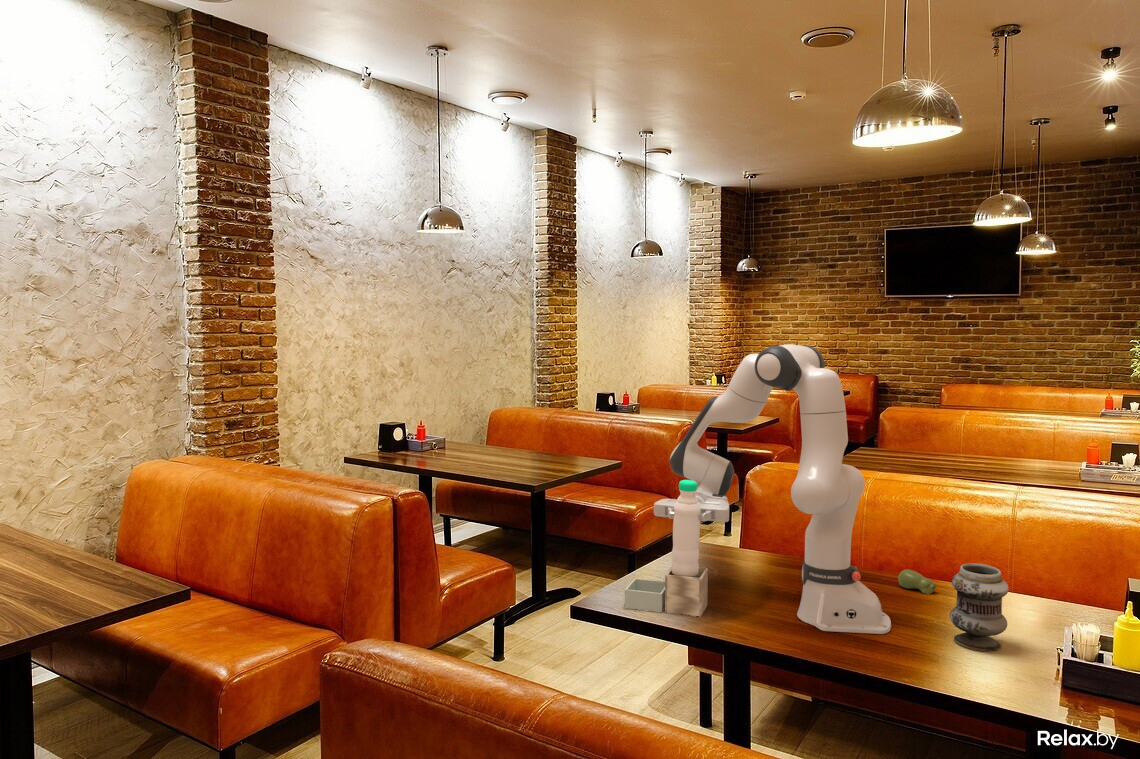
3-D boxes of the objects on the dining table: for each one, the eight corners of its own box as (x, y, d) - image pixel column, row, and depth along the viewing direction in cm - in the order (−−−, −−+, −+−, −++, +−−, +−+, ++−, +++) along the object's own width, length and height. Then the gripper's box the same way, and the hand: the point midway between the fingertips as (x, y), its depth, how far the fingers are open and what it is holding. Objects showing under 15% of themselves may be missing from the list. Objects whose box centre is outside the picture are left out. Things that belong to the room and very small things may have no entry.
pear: (904, 565, 229) (940, 578, 222) (901, 582, 230) (936, 595, 223) (897, 569, 225) (933, 582, 218) (893, 586, 225) (929, 600, 219)
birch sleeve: (707, 604, 212) (707, 568, 212) (700, 617, 203) (701, 578, 203) (672, 600, 215) (672, 564, 215) (665, 612, 207) (665, 575, 206)
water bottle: (697, 570, 212) (700, 478, 210) (699, 579, 205) (702, 484, 203) (670, 569, 213) (674, 477, 211) (671, 578, 206) (675, 483, 204)
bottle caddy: (670, 600, 216) (670, 582, 216) (661, 612, 207) (661, 593, 206) (634, 596, 219) (634, 578, 219) (624, 608, 210) (624, 589, 210)
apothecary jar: (976, 656, 179) (978, 578, 178) (937, 636, 190) (939, 563, 189) (1018, 650, 182) (1021, 573, 181) (978, 630, 194) (980, 558, 193)
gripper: (659, 491, 223) (647, 502, 210) (733, 496, 216) (725, 508, 203) (659, 513, 224) (647, 525, 211) (732, 519, 217) (725, 532, 204)
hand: (686, 517), depth 207 cm, fingers closed on water bottle, 6 cm apart
